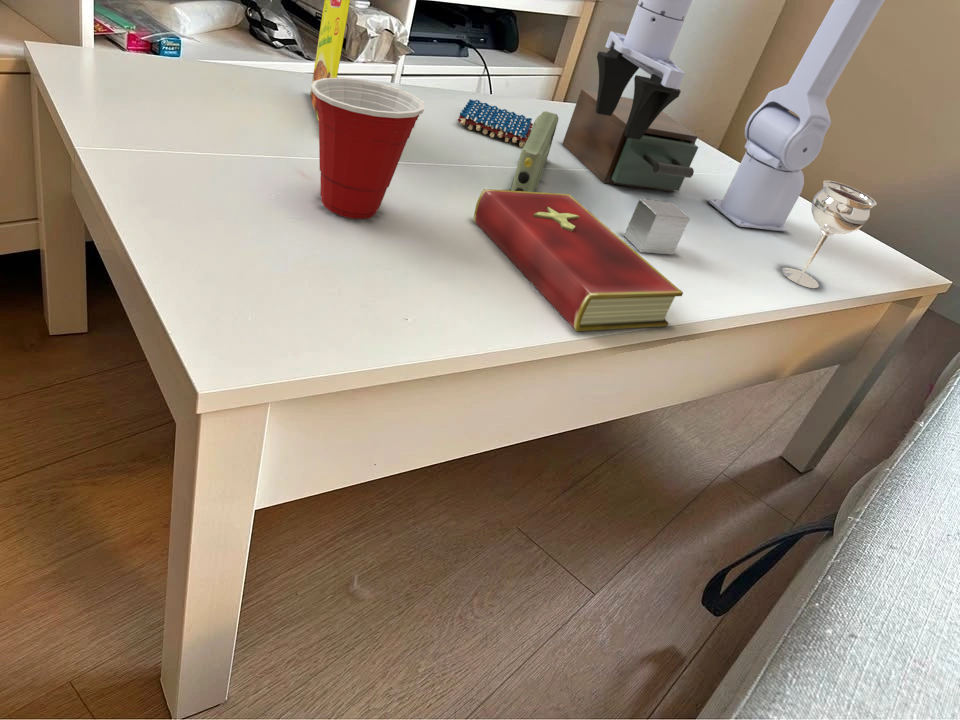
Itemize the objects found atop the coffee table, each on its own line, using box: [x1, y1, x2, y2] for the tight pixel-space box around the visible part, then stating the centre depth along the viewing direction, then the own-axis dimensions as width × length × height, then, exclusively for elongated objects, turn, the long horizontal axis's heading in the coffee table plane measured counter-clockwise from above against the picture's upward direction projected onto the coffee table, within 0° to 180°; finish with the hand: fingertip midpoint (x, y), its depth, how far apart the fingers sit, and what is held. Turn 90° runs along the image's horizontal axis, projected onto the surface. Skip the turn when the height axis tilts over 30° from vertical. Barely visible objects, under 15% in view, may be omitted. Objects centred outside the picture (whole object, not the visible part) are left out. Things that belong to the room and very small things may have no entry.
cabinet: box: [561, 88, 698, 193], centre depth 113 cm, size 14×13×9 cm
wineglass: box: [781, 180, 878, 289], centre depth 95 cm, size 7×7×12 cm
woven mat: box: [457, 98, 534, 148], centre depth 114 cm, size 10×11×2 cm
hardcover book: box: [473, 188, 684, 332], centre depth 79 cm, size 12×21×4 cm, turn 28°
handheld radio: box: [510, 110, 559, 192], centre depth 96 cm, size 7×3×25 cm
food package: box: [309, 0, 351, 123], centre depth 92 cm, size 15×1×20 cm, turn 17°
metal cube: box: [623, 198, 691, 256], centre depth 92 cm, size 5×4×5 cm
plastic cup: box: [310, 77, 426, 220], centre depth 75 cm, size 11×11×12 cm
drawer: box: [611, 133, 699, 192], centre depth 110 cm, size 17×11×7 cm
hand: (617, 125), depth 95 cm, fingers open, 7 cm apart
